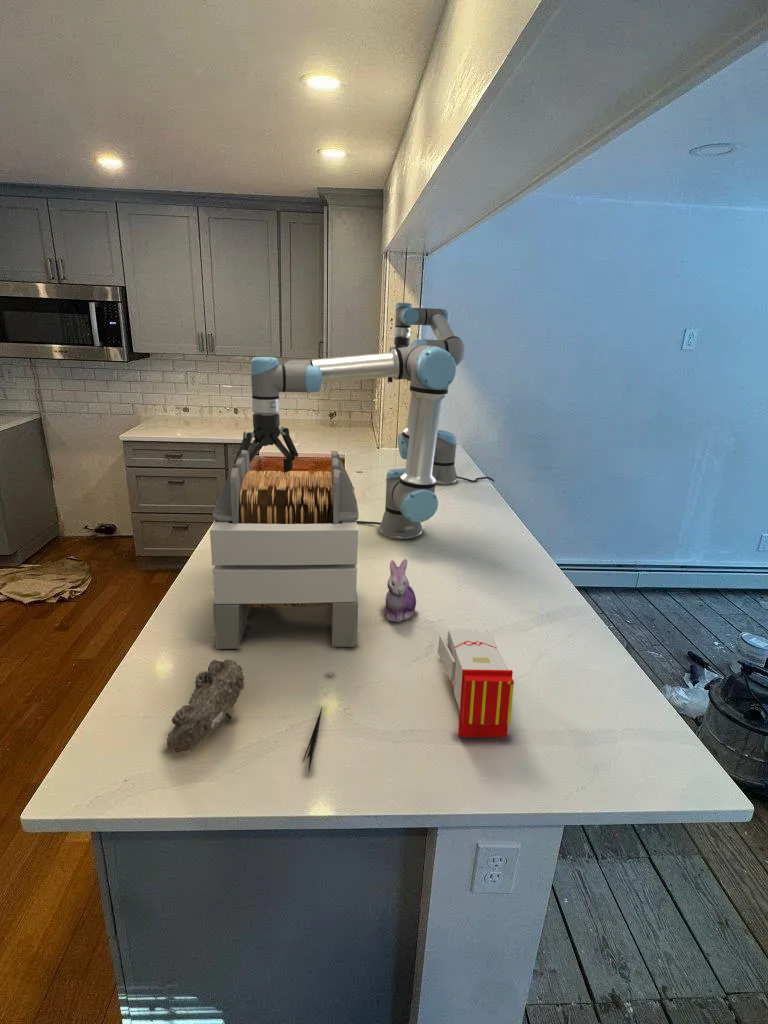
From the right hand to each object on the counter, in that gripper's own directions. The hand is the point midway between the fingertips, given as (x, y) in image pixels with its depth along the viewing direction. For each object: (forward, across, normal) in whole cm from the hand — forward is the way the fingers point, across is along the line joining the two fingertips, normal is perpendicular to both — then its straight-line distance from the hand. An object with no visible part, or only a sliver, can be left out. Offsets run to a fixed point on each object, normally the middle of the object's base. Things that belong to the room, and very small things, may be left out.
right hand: (399, 381), depth 281 cm
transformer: (+41, -129, -96) cm, 166 cm away
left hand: (+17, -115, -63) cm, 132 cm away
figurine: (+41, -108, -114) cm, 162 cm away
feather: (+41, -148, -133) cm, 203 cm away
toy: (+41, -118, -146) cm, 192 cm away
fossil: (+41, -163, -119) cm, 206 cm away
